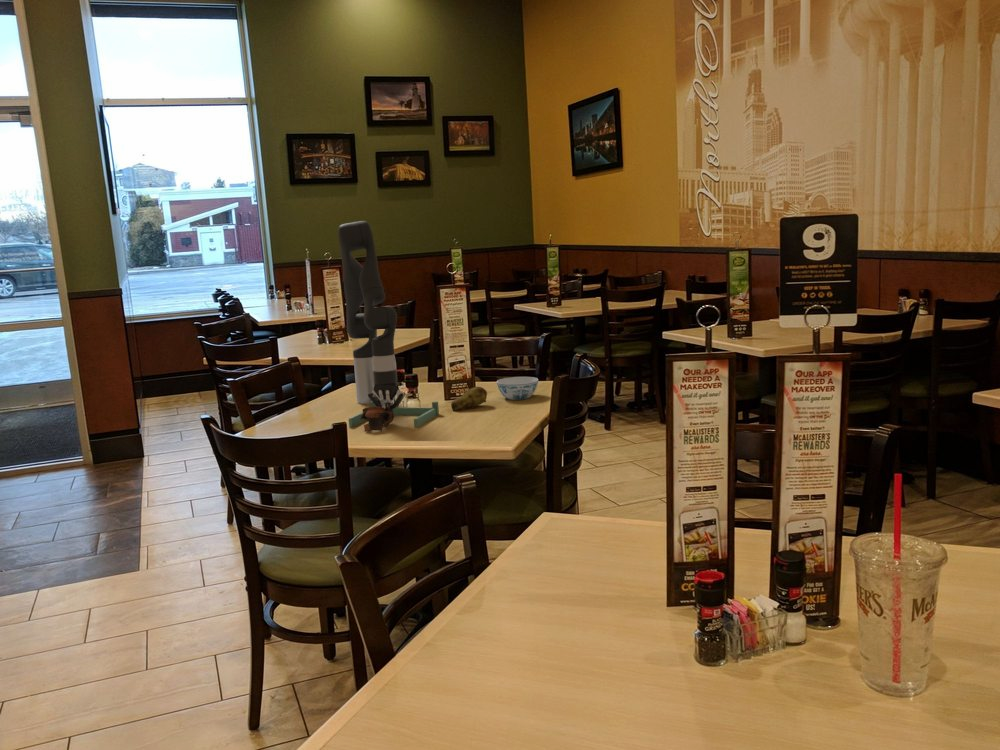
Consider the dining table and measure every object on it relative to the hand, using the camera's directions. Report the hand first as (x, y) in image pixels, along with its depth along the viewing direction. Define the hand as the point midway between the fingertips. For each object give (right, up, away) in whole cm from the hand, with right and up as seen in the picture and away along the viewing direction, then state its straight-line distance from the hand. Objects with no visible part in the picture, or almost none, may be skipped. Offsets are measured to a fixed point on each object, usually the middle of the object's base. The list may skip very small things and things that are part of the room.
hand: (388, 421), depth 272 cm
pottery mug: (-2, -4, -7) cm, 8 cm away
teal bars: (+1, -1, +5) cm, 5 cm away
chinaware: (+43, +5, +28) cm, 51 cm away
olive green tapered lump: (+26, +3, +17) cm, 31 cm away
